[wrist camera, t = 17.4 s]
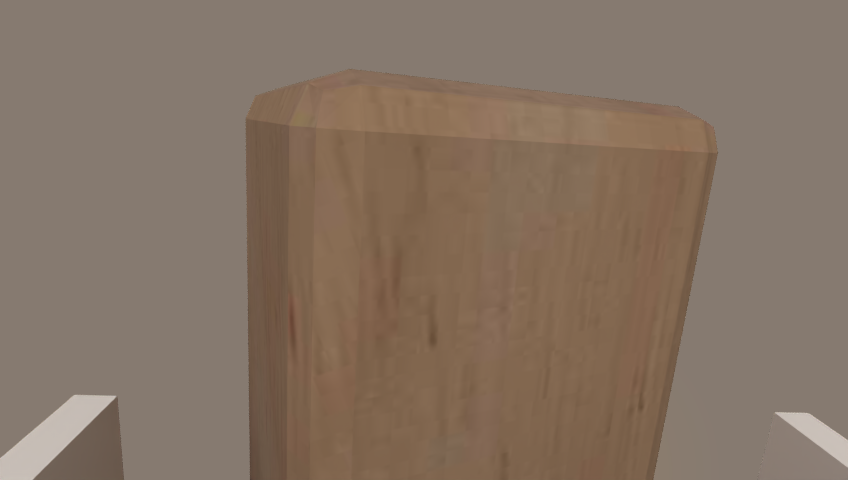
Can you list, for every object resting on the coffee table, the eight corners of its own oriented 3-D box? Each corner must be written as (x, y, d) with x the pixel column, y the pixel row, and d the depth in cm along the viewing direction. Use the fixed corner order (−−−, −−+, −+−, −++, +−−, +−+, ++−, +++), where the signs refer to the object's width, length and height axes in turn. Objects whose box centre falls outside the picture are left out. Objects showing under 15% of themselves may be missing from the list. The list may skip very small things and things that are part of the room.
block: (290, 958, 12) (300, 55, 7) (249, 591, 20) (242, 86, 16) (612, 759, 16) (747, 110, 11) (462, 526, 25) (504, 110, 20)
